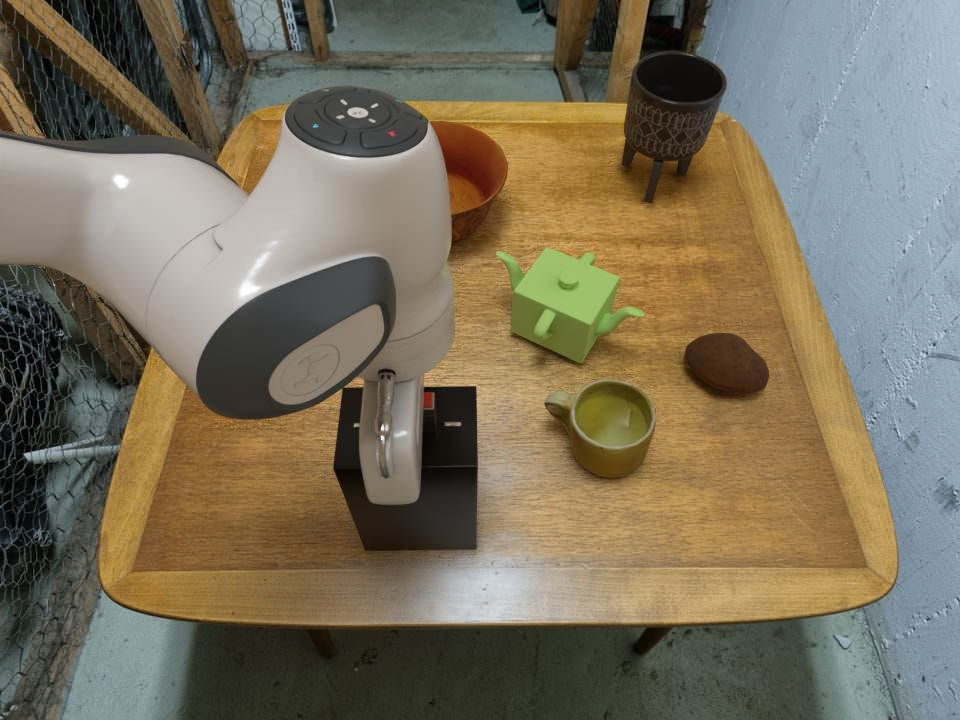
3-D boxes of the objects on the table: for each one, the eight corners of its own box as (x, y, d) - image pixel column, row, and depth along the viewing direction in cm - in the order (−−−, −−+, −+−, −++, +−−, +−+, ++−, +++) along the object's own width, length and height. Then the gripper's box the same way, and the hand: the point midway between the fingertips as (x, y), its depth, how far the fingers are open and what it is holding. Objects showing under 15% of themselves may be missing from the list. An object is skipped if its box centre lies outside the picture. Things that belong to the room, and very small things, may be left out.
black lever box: (364, 557, 72) (331, 474, 55) (370, 477, 77) (342, 380, 60) (476, 555, 72) (478, 472, 55) (475, 476, 77) (476, 379, 61)
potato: (755, 415, 82) (776, 383, 76) (671, 384, 85) (686, 352, 79) (766, 371, 86) (787, 339, 80) (686, 344, 88) (700, 310, 83)
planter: (671, 147, 112) (701, 44, 97) (707, 198, 105) (744, 96, 90) (599, 160, 110) (618, 57, 95) (630, 213, 102) (655, 111, 88)
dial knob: (377, 433, 57) (371, 407, 54) (379, 417, 58) (373, 390, 55) (436, 432, 58) (434, 407, 54) (436, 416, 58) (434, 390, 55)
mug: (677, 425, 79) (668, 392, 71) (634, 500, 77) (620, 476, 68) (587, 383, 85) (570, 348, 77) (545, 452, 83) (523, 424, 75)
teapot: (492, 300, 92) (495, 244, 84) (582, 277, 95) (593, 220, 86) (533, 388, 84) (540, 337, 75) (630, 361, 87) (648, 308, 78)
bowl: (422, 154, 110) (418, 100, 102) (532, 206, 103) (537, 152, 95) (336, 227, 100) (324, 173, 92) (450, 290, 93) (448, 238, 85)
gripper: (432, 452, 40) (441, 537, 51) (438, 213, 52) (445, 325, 63) (326, 454, 40) (358, 538, 51) (356, 214, 52) (377, 326, 63)
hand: (406, 419), depth 57 cm, fingers open, 4 cm apart
